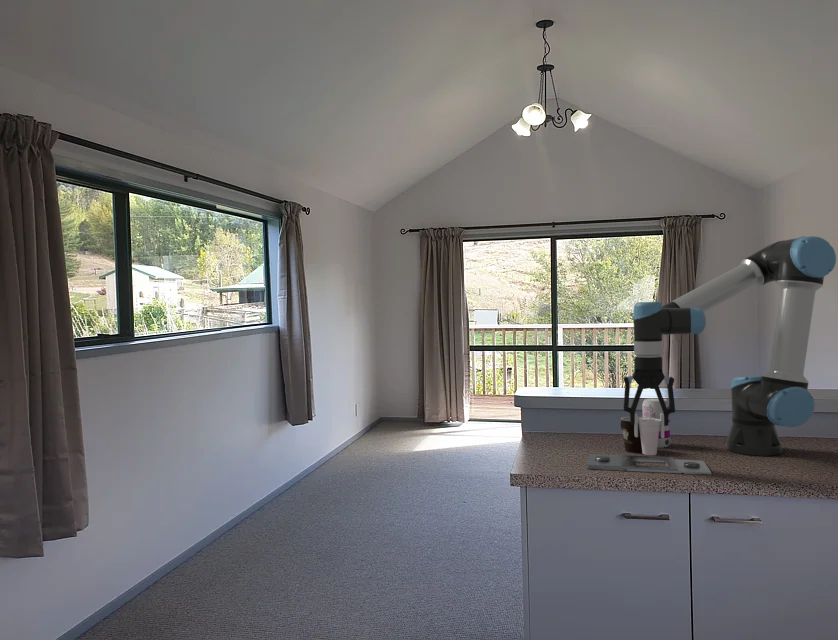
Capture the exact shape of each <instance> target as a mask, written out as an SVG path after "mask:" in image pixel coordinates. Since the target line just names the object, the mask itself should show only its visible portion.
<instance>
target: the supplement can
mask: <svg viewBox="0 0 838 640" xmlns="http://www.w3.org/2000/svg"><path fill="white" fill-rule="evenodd" d="M663 399H664V402H665V405H666V407H667V409H668V408H669V400H668V399H666V398H663ZM649 404H650V405H651V418H654V419H659V420H660V413H663V410H662V408H661V405H660V402H659V400H658V397H648V398H644V400H643V402H642V403H641V405H642V409H641V410H642V417H644V418H649ZM670 415H671V413H670V414H669V415H668V426H664V438H661V428H660V429H659V437H658V445H657V449H661V448H662V449H663V448H664V447H665V448H667V447H669V446H670V445H671V417H670Z"/></svg>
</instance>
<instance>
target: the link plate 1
mask: <svg viewBox="0 0 838 640" xmlns="http://www.w3.org/2000/svg"><path fill="white" fill-rule="evenodd" d="M633 459H636V460H660V461H666V463H667V465H666V466H663V465H662V466H661V465H641V464H640V465H637V464H635V463H634V462H635V461H633ZM674 459H675V458H674V457H673V456H653V455H645V456H644V455H626V454H625V455H623V454H600V453H599V454H598V453H589V454H588V458H587V462H588V463H587V470H600V471H601V470H602V471H622V472H623V471H624V472H626V469H643V470H664V471H678V468H677V465H676V463H675V461H674ZM666 463H665V464H666ZM667 466H668V467H667Z"/></svg>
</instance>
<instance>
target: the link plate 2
mask: <svg viewBox="0 0 838 640" xmlns="http://www.w3.org/2000/svg"><path fill="white" fill-rule="evenodd" d="M673 459H674V461H675V463H676V465H677V468H678V471H664V470H643V469H625V472H626V471H627V472H642V473H663V474H664V473H665V474H681V473H684V474H686V475H702V474H707V475H706V476H712V475H713V474H712V471H711V470H710V468H709V467H708V466H707V463H706V462H705V460H695V459H675V458H673ZM633 462H636V463H637V462H641V463H642V462H643V463H659V464H663V463H664V464H665V465H666V467H668V466H667V463H666V461H660V460H636V459H633Z"/></svg>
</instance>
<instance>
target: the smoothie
mask: <svg viewBox="0 0 838 640" xmlns="http://www.w3.org/2000/svg"><path fill="white" fill-rule="evenodd" d="M638 424H639V430H640V438H641V445H642V452H643V453H642V454H643V455H645V456H657V452H658V448H657V445H658V437H659V429H660V425H661V420H659V419H654V418H651V405H650V404H649V418H640V419H638Z"/></svg>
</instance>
